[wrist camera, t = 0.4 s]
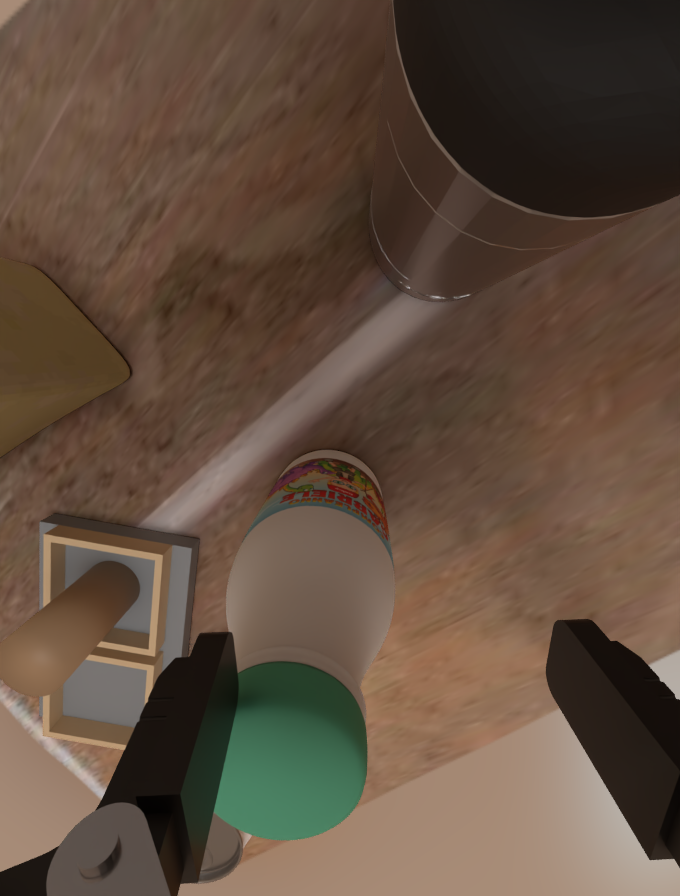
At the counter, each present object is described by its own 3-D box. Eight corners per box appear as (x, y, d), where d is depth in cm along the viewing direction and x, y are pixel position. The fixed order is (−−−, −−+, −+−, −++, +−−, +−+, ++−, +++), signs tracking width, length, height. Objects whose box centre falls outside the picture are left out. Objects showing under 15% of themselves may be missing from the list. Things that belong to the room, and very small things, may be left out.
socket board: (54, 513, 31) (-74, 583, 22) (199, 538, 31) (132, 619, 22) (52, 700, 35) (-57, 827, 26) (180, 723, 35) (118, 857, 26)
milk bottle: (375, 553, 31) (408, 907, 11) (272, 542, 31) (129, 874, 11) (388, 453, 29) (454, 670, 9) (278, 441, 29) (120, 634, 10)
